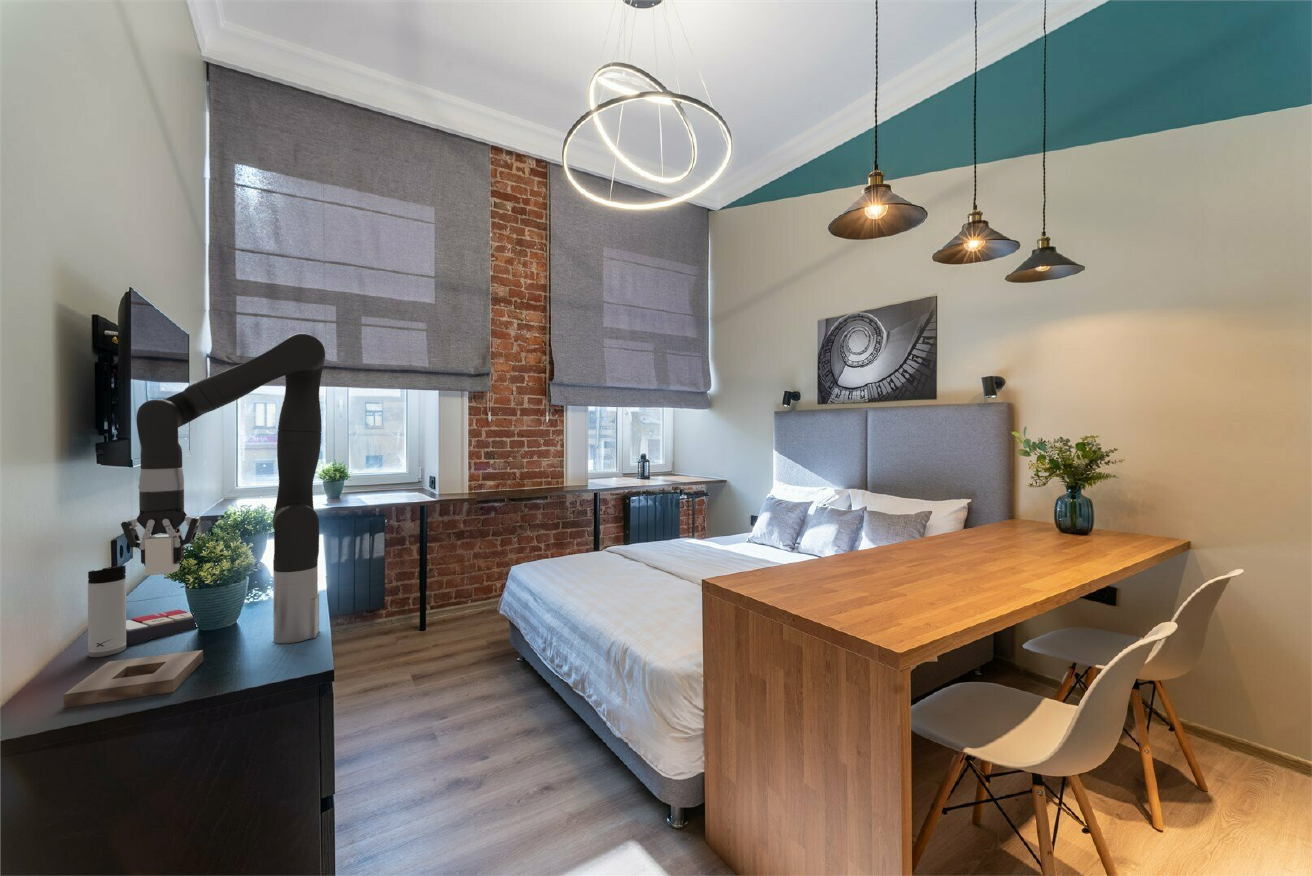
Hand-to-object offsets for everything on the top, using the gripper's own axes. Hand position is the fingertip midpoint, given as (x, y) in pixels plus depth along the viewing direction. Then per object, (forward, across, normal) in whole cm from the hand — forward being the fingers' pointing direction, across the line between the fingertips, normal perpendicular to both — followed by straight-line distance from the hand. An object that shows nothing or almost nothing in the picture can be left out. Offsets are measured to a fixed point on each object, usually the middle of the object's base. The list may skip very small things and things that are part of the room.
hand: (162, 563), depth 124 cm
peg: (+2, 0, 0) cm, 2 cm away
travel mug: (+21, +13, -9) cm, 27 cm away
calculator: (+22, +9, -22) cm, 32 cm away
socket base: (+21, -1, +14) cm, 25 cm away
